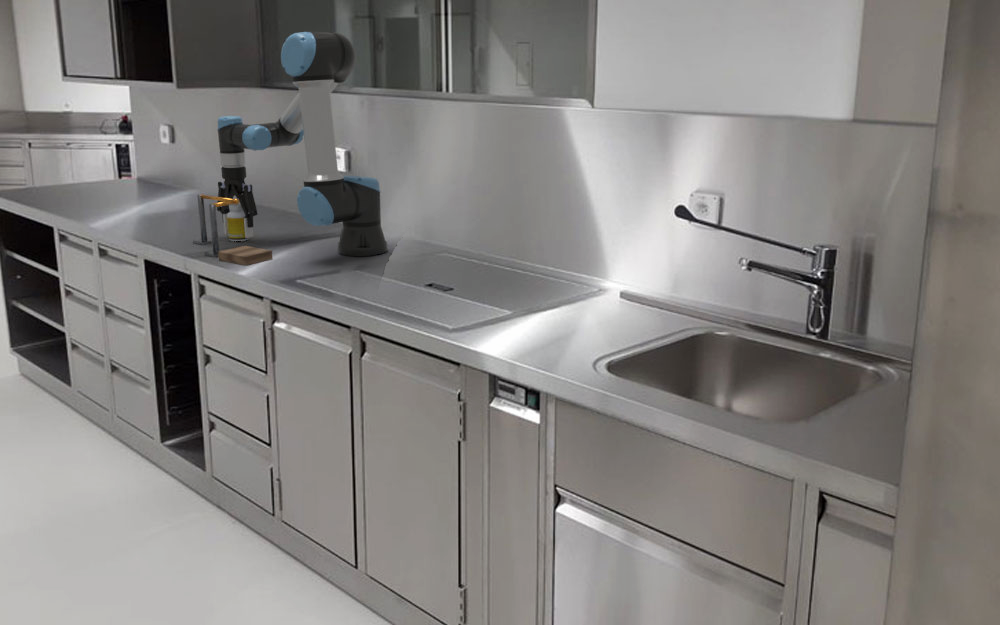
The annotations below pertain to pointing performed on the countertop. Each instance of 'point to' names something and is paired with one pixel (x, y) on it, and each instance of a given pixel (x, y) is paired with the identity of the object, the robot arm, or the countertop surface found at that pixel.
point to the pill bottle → (236, 223)
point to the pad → (245, 255)
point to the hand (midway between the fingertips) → (238, 235)
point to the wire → (213, 221)
